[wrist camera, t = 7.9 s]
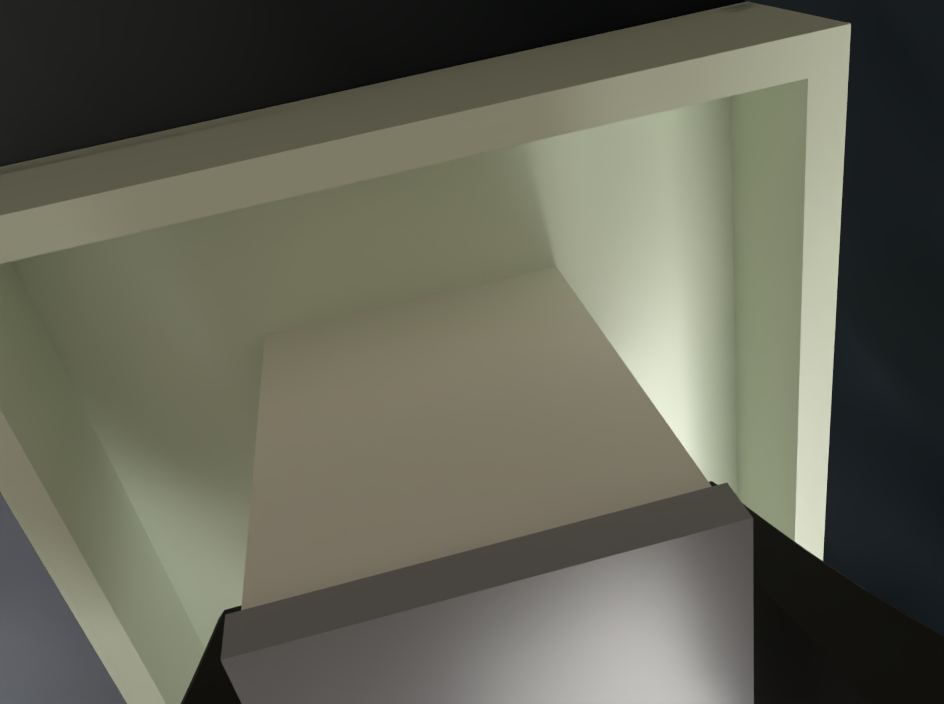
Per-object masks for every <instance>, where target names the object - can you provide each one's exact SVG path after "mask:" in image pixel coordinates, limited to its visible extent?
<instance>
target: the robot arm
mask: <svg viewBox="0 0 944 704" xmlns="http://www.w3.org/2000/svg"><path fill="white" fill-rule="evenodd" d="M709 483H710V485H711V486H716V485H717V484H716V483H714V482H713V481H710V482H709ZM743 505H744V504H743ZM744 506H745V507H746V509H747V510H748V512H749V513H750V514H751V516H752V517H753V618H754V704H944V636H943V635H941V634H939V633H937V632H936V631H934V630H932V629H930V628H929V627H927V626H925V625H923V624H922V623H920V622H918V621H917V620H915V619H913V618H911V617H910V616H908V615H906V614H905V613H903V612H901V611H900V610H898V609H897V608H895V607H893V606H892V605H890V604H888V603H887V602H885V601H883V600H882V599H880V598H878V597H877V596H875V595H874V594H872V593H871V592H869V591H867V590H866V589H864V588H863V587H861V586H860V585H858V584H857V583H855V582H853V581H852V580H850V579H849V578H847V577H846V576H844V575H843V574H841V573H840V572H838V571H837V570H835V569H834V568H833V567H831V566H830V565H828V564H827V563H825V562H824V561H822V560H821V559H819V558H818V557H816V556H815V555H813V554H812V553H810V552H809V551H807V550H806V549H805V548H803V547H802V546H800V545H799V544H798V543H796V542H795V541H793V540H792V539H790V538H789V537H788V536H786V535H785V534H784V533H782V532H781V531H779V530H778V529H777V528H775V527H774V526H773V525H771V524H770V523H768V522H767V521H766V520H764V519H763V518H762V517H760V516H759V515H758V514H756V513H755V512H754V511H752V510H751V509H750V508H748V507H747V506H746V505H744ZM241 607H242V605H241V606H237V607H233V608H229V609H226V610H224V611H223V613H222V614H221V616H220V617H219V619H218V621H217V623H216V626H215V628H214V630H213V633H212V635H211V637H210V640H209V642H208V644H207V646H206V649H205V651H204V653H203V656H202V658H201V660H200V662H199V665H198V667H197V669H196V671H195V673H194V676H193V678H192V680H191V682H190V684H189V687H188V689H187V691H186V693H185V695H184V697H183V699H182V702H181V704H242V703H241V701H240V699H239V697H238V695H237V693H236V691H235V689H234V687H233V685H232V683H231V681H230V679H229V677H228V675H227V672H226V670H225V668H224V666H223V664H222V662H221V651H222V642H223V633H224V623H225V615H226V614H229V613H233V612H237V611H241Z"/></svg>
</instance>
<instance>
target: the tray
mask: <svg viewBox="0 0 944 704" xmlns="http://www.w3.org/2000/svg"><path fill="white" fill-rule="evenodd" d="M850 33H851V24H850V23H846V22H841V21H836V20H832V19H827V18H822V17H817V16H813V15H808V14H803V13H799V12H794V11H789V10H785V9H780V8H775V7H771V6H766V5H761V4H757V3H752V2H743V3H738V4H734V5H729V6H724V7H720V8H715V9H711V10H706V11H702V12H697V13H693V14H688V15H684V16H679V17H675V18H670V19H666V20H661V21H657V22H652V23H648V24H643V25H639V26H634V27H630V28H625V29H621V30H616V31H612V32H607V33H603V34H598V35H594V36H589V37H585V38H580V39H575V40H571V41H566V42H562V43H557V44H553V45H548V46H544V47H539V48H535V49H530V50H526V51H521V52H517V53H512V54H508V55H503V56H499V57H494V58H490V59H485V60H481V61H476V62H472V63H467V64H463V65H458V66H454V67H449V68H445V69H440V70H436V71H431V72H427V73H422V74H417V75H413V76H408V77H404V78H399V79H395V80H390V81H386V82H381V83H377V84H372V85H368V86H363V87H359V88H354V89H350V90H345V91H341V92H336V93H332V94H327V95H323V96H318V97H314V98H309V99H305V100H300V101H296V102H291V103H287V104H282V105H278V106H273V107H268V108H264V109H259V110H255V111H250V112H246V113H241V114H237V115H232V116H228V117H223V118H219V119H214V120H210V121H205V122H201V123H196V124H192V125H187V126H183V127H178V128H174V129H169V130H165V131H160V132H156V133H151V134H147V135H142V136H138V137H133V138H129V139H124V140H120V141H115V142H110V143H106V144H101V145H97V146H92V147H88V148H83V149H79V150H74V151H70V152H65V153H61V154H56V155H52V156H47V157H43V158H38V159H34V160H29V161H25V162H20V163H16V164H11V165H7V166H2V167H0V492H1V494H2V496H3V497H4V499H5V501H6V502H7V504H8V506H9V507H10V509H11V511H12V512H13V514H14V516H15V517H16V519H17V521H18V523H19V524H20V526H21V528H22V529H23V531H24V533H25V534H26V536H27V538H28V539H29V541H30V543H31V544H32V546H33V548H34V549H35V551H36V553H37V554H38V556H39V558H40V559H41V561H42V563H43V564H44V566H45V568H46V569H47V571H48V573H49V574H50V576H51V578H52V579H53V581H54V583H55V584H56V586H57V588H58V589H59V591H60V593H61V594H62V596H63V598H64V599H65V601H66V603H67V604H68V606H69V608H70V609H71V611H72V613H73V614H74V616H75V618H76V619H77V621H78V623H79V624H80V626H81V628H82V629H83V631H84V633H85V634H86V636H87V638H88V639H89V641H90V643H91V644H92V646H93V648H94V649H95V651H96V653H97V654H98V656H99V658H100V659H101V661H102V663H103V664H104V666H105V668H106V669H107V671H108V673H109V674H110V676H111V678H112V679H113V681H114V683H115V684H116V686H117V688H118V689H119V691H120V693H121V694H122V696H123V698H124V699H125V701H126V703H127V704H181V702H182V699H183V697H184V695H185V693H186V691H187V689H188V687H189V684H190V682H191V680H192V678H193V676H194V673H195V671H196V669H197V667H198V665H199V662H200V660H201V658H202V656H203V653H204V651H205V649H206V646H207V644H208V642H209V640H210V637H211V635H212V633H213V630H214V628H215V626H216V623H217V621H218V619H219V617H220V616H221V614H222V613H223V611H224V610H226V609H229V608H233V607H237V606H241V605H242V596H243V584H244V572H245V561H246V549H247V537H248V526H249V514H250V502H251V491H252V479H253V468H254V456H255V444H256V433H257V421H258V409H259V398H260V386H261V375H262V363H263V351H264V340H265V335H270V334H274V333H278V332H282V331H286V330H291V329H295V328H299V327H303V326H307V325H311V324H316V323H320V322H324V321H328V320H332V319H336V318H341V317H345V316H349V315H353V314H357V313H361V312H366V311H370V310H374V309H378V308H382V307H387V306H391V305H395V304H399V303H403V302H407V301H412V300H416V299H420V298H424V297H428V296H432V295H437V294H441V293H445V292H449V291H453V290H457V289H462V288H466V287H470V286H474V285H478V284H483V283H487V282H491V281H495V280H499V279H503V278H508V277H512V276H516V275H520V274H524V273H528V272H533V271H537V270H541V269H545V268H549V267H553V266H556V267H557V268H558V270H559V271H560V272H561V274H562V275H563V277H564V278H565V280H566V281H567V282H568V284H569V285H570V287H571V288H572V289H573V291H574V292H575V294H576V295H577V297H578V298H579V299H580V301H581V302H582V304H583V305H584V306H585V308H586V309H587V311H588V312H589V314H590V315H591V316H592V318H593V319H594V321H595V322H596V323H597V325H598V326H599V328H600V329H601V330H602V332H603V333H604V335H605V336H606V338H607V339H608V340H609V342H610V343H611V345H612V346H613V347H614V349H615V350H616V352H617V353H618V355H619V356H620V357H621V359H622V360H623V362H624V363H625V364H626V366H627V367H628V369H629V370H630V371H631V373H632V374H633V376H634V377H635V379H636V380H637V381H638V383H639V384H640V386H641V387H642V388H643V390H644V391H645V393H646V394H647V396H648V397H649V398H650V400H651V401H652V403H653V404H654V405H655V407H656V408H657V410H658V411H659V413H660V414H661V415H662V417H663V418H664V420H665V421H666V422H667V424H668V425H669V427H670V428H671V429H672V431H673V432H674V434H675V435H676V437H677V438H678V439H679V441H680V442H681V444H682V445H683V446H684V448H685V449H686V451H687V452H688V454H689V455H690V456H691V458H692V459H693V461H694V462H695V463H696V465H697V466H698V468H699V469H700V470H701V472H702V473H703V475H704V476H705V478H706V479H707V480H708V482H710V481H713V482H714V483H716V484H717V485H719V484H723V483H728V484H729V486H730V487H731V489H732V490H733V491H734V493H735V494H736V495H737V497H738V498H739V499H740V501H741V502H742V503H743V504H744V505H746V506H747V507H748V508H750V509H751V510H752V511H754V512H755V513H756V514H758V515H759V516H760V517H762V518H763V519H764V520H766V521H767V522H768V523H770V524H771V525H773V526H774V527H775V528H777V529H778V530H779V531H781V532H782V533H784V534H785V535H786V536H788V537H789V538H790V539H792V540H793V541H795V542H796V543H798V544H799V545H800V546H802V547H803V548H805V549H806V550H807V551H809V552H810V553H812V554H813V555H815V556H816V557H818V558H819V559H821V560H822V561H823V547H824V528H825V509H826V490H827V471H828V452H829V433H830V414H831V395H832V376H833V357H834V338H835V319H836V300H837V281H838V262H839V243H840V224H841V204H842V185H843V166H844V147H845V128H846V109H847V90H848V71H849V52H850Z"/></svg>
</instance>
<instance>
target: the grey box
mask: <svg viewBox="0 0 944 704" xmlns="http://www.w3.org/2000/svg"><path fill="white" fill-rule="evenodd" d="M221 662H222V664H223V666H224V668H225V670H226V672H227V675H228V677H229V679H230V681H231V683H232V685H233V687H234V689H235V691H236V693H237V695H238V697H239V699H240V701H241V703H242V704H754V618H753V517H752V516H751V514H750V513H749V512H748V510H747V509H746V507H745V506H744V505H743V503H742V502H741V501H740V499H739V498H738V497H737V495H736V494H735V493H734V491H733V490H732V489H731V487H730V486H729V484H728V483H723V484H719V485H716V486H711V485H710V483H709V482H708V480H707V479H706V478H705V476H704V475H703V473H702V472H701V470H700V469H699V468H698V466H697V465H696V463H695V462H694V461H693V459H692V458H691V456H690V455H689V454H688V452H687V451H686V449H685V448H684V446H683V445H682V444H681V442H680V441H679V439H678V438H677V437H676V435H675V434H674V432H673V431H672V429H671V428H670V427H669V425H668V424H667V422H666V421H665V420H664V418H663V417H662V415H661V414H660V413H659V411H658V410H657V408H656V407H655V405H654V404H653V403H652V401H651V400H650V398H649V397H648V396H647V394H646V393H645V391H644V390H643V388H642V387H641V386H640V384H639V383H638V381H637V380H636V379H635V377H634V376H633V374H632V373H631V371H630V370H629V369H628V367H627V366H626V364H625V363H624V362H623V360H622V359H621V357H620V356H619V355H618V353H617V352H616V350H615V349H614V347H613V346H612V345H611V343H610V342H609V340H608V339H607V338H606V336H605V335H604V333H603V332H602V330H601V329H600V328H599V326H598V325H597V323H596V322H595V321H594V319H593V318H592V316H591V315H590V314H589V312H588V311H587V309H586V308H585V306H584V305H583V304H582V302H581V301H580V299H579V298H578V297H577V295H576V294H575V292H574V291H573V289H572V288H571V287H570V285H569V284H568V282H567V281H566V280H565V278H564V277H563V275H562V274H561V272H560V271H559V270H558V268H557V267H556V266H553V267H549V268H545V269H541V270H537V271H533V272H528V273H524V274H520V275H516V276H512V277H508V278H503V279H499V280H495V281H491V282H487V283H483V284H478V285H474V286H470V287H466V288H462V289H457V290H453V291H449V292H445V293H441V294H437V295H432V296H428V297H424V298H420V299H416V300H412V301H407V302H403V303H399V304H395V305H391V306H387V307H382V308H378V309H374V310H370V311H366V312H361V313H357V314H353V315H349V316H345V317H341V318H336V319H332V320H328V321H324V322H320V323H316V324H311V325H307V326H303V327H299V328H295V329H291V330H286V331H282V332H278V333H274V334H270V335H265V340H264V351H263V363H262V375H261V386H260V398H259V409H258V421H257V433H256V444H255V456H254V468H253V479H252V491H251V502H250V514H249V526H248V537H247V549H246V561H245V572H244V584H243V596H242V607H241V611H237V612H233V613H229V614H226V615H225V623H224V633H223V642H222V651H221Z"/></svg>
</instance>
